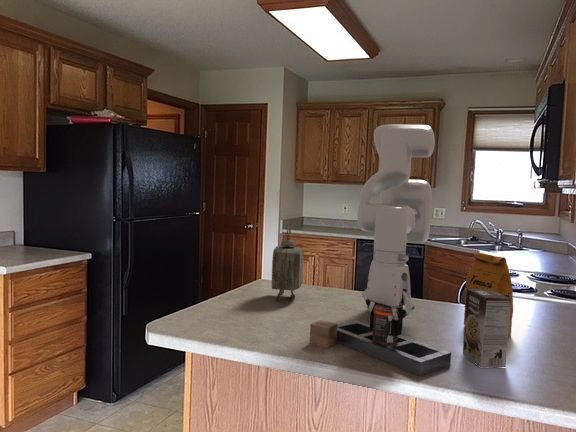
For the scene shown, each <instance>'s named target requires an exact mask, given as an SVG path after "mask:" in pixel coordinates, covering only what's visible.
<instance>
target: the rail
mask: <svg viewBox="0 0 576 432" xmlns="http://www.w3.org/2000/svg"><path fill="white" fill-rule="evenodd" d="M337 324H338V325H337V343H338V344H341V345H343V346H346V347H348V348H351V349H353V350H355V351H357V352H360V353H362V354H365V355H368V356H370V357H372V358H375V359H378V360H379V361H382V362H384V363H386V364H390V365H391V366H394V367H396V368H398V369H402V370H404V371H406V372H409V373H410V374H411V373H412V374H414V375H416V376H419V377H422V376H425V375H428V374H430V373H433V372H436V371H438V370H442V369H444V368H448V367H450V366H451V359H452V352H450V351H447V350H445V349H442V348H439V347H436V346H433V345H431V344H427V343H425V342H421V341H418V340H415V339H412V338H409V337H407V336H404V335H402V334H401V335H398V337H397V343H396V344H392V345H388V346H386V345H383V344H380V343H378V342H375V341H372V335H373V329H371V328H370V323H369V324H368V323H366V322H363V321H359V320H353V321H349V322H348V321H347V322H344V323H337Z"/></svg>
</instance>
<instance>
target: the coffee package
mask: <svg viewBox="0 0 576 432" xmlns="http://www.w3.org/2000/svg"><path fill="white" fill-rule="evenodd" d="M473 257H474V258H475V260H474V262H473V264H472V266H471V268H470V270H469V272H468V274H467V276H466V278H465V295H464V298H465V300H464V310H465V309H466V293H467V290H466V289H484V290H493V291H495V292H497V293H499V294H502V295H504V296H506V297H508V298H511V308H510V320H509V332H508V338H509V337H512V327H513V326H512V324H513V316H514V297H513V296H514V295H513V293H514V291H513V290H514V289H513V282H512V279H511V274H510V269H509V266H508V263H507V262H508V261H507V259H506V257H503V256H496V255H492V254H487V253H483V252H479V251H477V252H475V253H474V256H473ZM463 316H464V318H463V319H464V320H463V325H464V326H465V311H464V313H463Z"/></svg>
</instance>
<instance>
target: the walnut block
mask: <svg viewBox="0 0 576 432" xmlns="http://www.w3.org/2000/svg"><path fill="white" fill-rule="evenodd" d="M338 324H339V323H337V322H332V321H327V320H322V319H319V320H317V321H314V322H312V323H310V327H309V328H310V329H309V344H310V345H314V346H317V347H322V348H326V349H328V348H330V347H332V346H333V345H335V344H337V343H338V342H337V325H338Z"/></svg>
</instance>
